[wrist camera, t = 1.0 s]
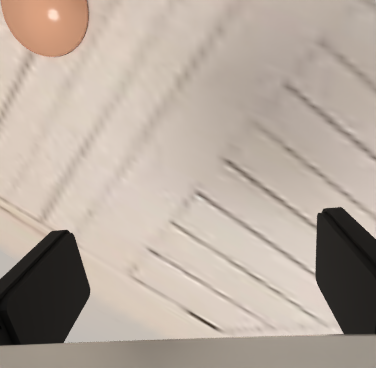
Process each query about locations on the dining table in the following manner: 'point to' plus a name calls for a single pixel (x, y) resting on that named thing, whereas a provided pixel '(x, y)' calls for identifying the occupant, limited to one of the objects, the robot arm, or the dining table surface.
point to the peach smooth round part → (47, 24)
